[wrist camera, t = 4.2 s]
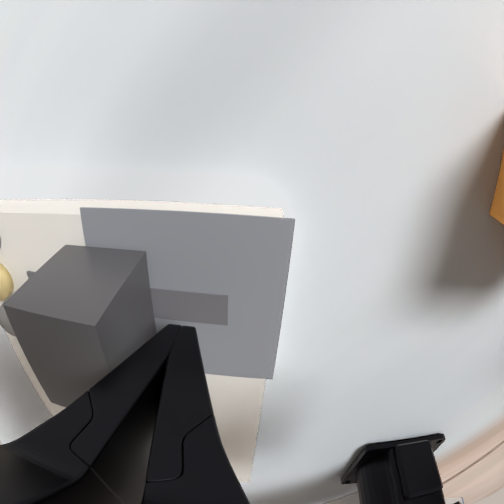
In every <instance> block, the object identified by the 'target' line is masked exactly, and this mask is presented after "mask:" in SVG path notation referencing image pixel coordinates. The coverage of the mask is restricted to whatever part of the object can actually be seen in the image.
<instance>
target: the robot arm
mask: <svg viewBox="0 0 504 504" xmlns="http://www.w3.org/2000/svg"><path fill="white" fill-rule="evenodd" d="M444 441H445V436H444V434H438V435H433V436H427V437H422V438H416V439H410V440H403V441H396V442H389V443H380V444H372V445H369V446H366V447H365V448H364V449H363V450H362V452H361V453H360V455H359V456H358V457H357V459H356V460H355V461H354V463H353V464H352V465H351V467H350V468H349V469H348V470H347V472H346V473H345V474H344V475H343V477H342V478H341V483H342V484H352V483H357V488H358V495H359V503H360V504H446V503H445V499H444V495H443V491H442V488H443V485H442V481H441V477H440V474H439V470H438V467H437V463H436V460H435V456H434V453H433V452H434V451H435V450H436V449H437V448H438V447H439V446H440V445H441V444H442V443H443V442H444ZM0 504H250V502H249V501H248V499H247V497H246V495H245V493H244V491H243V489H242V487H241V485H240V483H239V481H238V478H237V476H236V474H235V472H234V470H233V468H232V466H231V464H230V461H229V459H228V457H227V454H226V452H225V449H224V447H223V444H222V441H221V438H220V434H219V431H218V428H217V423H216V419H215V416H214V411H213V407H212V403H211V398H210V394H209V389H208V385H207V380H206V376H205V371H204V366H203V361H202V356H201V351H200V346H199V341H198V336H197V331H196V328H195V327H193V326H185V325H183V326H181V325H177V324H168V325H166V326H165V327H164V328H163V329H161V330H160V331H159V332H158V333H157V334H155V335H154V336H153V337H152V338H151V339H149V340H148V341H147V342H146V343H145V344H143V345H142V346H141V347H140V348H139V349H137V350H136V351H135V352H134V353H132V354H131V355H130V356H129V357H128V358H126V359H125V360H124V361H123V362H122V363H120V364H119V365H118V366H117V367H116V368H114V369H113V370H112V371H111V372H109V373H108V374H107V375H106V376H105V377H103V378H102V379H101V380H100V381H99V382H97V383H96V384H95V385H94V386H93V387H91V388H90V389H89V391H86V392H85V393H84V394H83V395H81V396H80V397H79V398H78V399H77V400H75V401H74V402H73V403H71V404H70V405H69V406H67V407H66V408H65V409H63V410H62V411H61V412H59V413H58V414H56V415H55V416H53V417H52V418H50V419H49V420H47V421H46V422H44V423H42V424H41V425H39V426H38V427H36V428H35V429H33V430H31V431H30V432H28V433H27V434H25V435H23V436H22V437H20V438H18V439H17V440H15V441H12V442H10V443H7V444H3V445H0ZM453 504H462V503H461V502H460V501H458V502H455V503H453Z"/></svg>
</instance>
